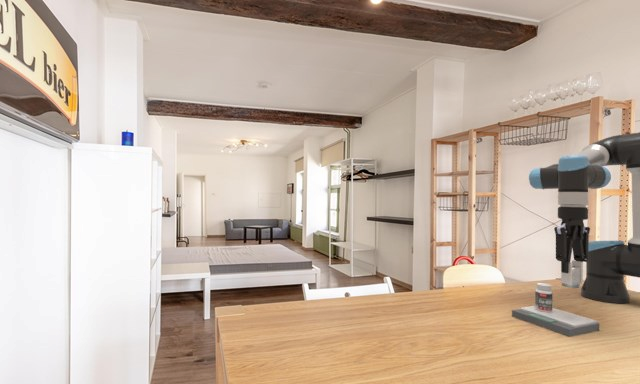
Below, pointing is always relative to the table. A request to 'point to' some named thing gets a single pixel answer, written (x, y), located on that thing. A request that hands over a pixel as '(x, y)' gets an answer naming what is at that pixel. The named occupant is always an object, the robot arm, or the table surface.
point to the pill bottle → (543, 297)
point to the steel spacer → (574, 278)
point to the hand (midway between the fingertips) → (571, 282)
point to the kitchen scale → (557, 321)
